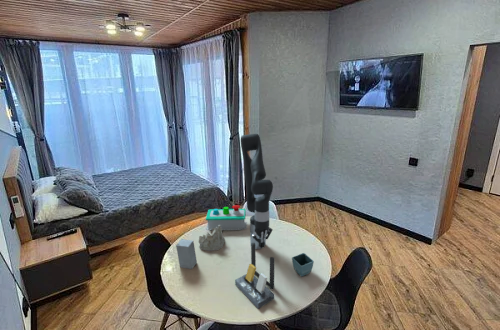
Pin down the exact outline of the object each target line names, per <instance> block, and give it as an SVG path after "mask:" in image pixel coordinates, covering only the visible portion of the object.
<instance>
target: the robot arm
mask: <svg viewBox="0 0 500 330" xmlns="http://www.w3.org/2000/svg"><path fill="white" fill-rule="evenodd" d="M240 148H241V154H242V159H243V167H244V169H243V170H244V181H245V186H246V187H245V188H246V189H245V190H246V209H247V211H249V212H250V213H253V214H254V215H252V216H251V217H250V219H249V224H250V226H249V227H250V228H249V229H250V233H249V235H250V237H249V238H250V239H249V240H250V242H249V243H250V245H251V243H255V250H261V249H263V248H265V246H266V243H267V242H266V241H267V240H269V237H270V236H271V234H272V231H274V230H273V228H271V227H270V200H271V196H272V194H273V189H274V183H273V182H272V181H271V180H270V179H265V178H266V177H267V172H266V168H265V164H264V160H263V159H264V158H263V149H262V142H261V136H260V135H259V134H258V133H250V134H244V135H241V136H240ZM251 151H255V154H254V156H253V158H251V157H250V155H249V153H248V152H251ZM259 195H261V196H259ZM256 196H258V197H256Z"/></svg>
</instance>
